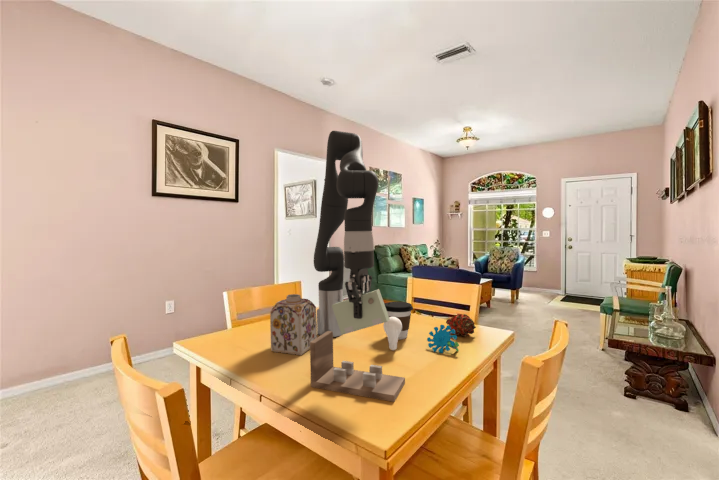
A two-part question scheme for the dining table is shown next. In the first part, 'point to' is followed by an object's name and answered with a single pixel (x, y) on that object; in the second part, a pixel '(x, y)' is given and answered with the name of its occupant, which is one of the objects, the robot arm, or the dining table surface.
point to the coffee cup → (400, 315)
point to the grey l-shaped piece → (349, 374)
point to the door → (371, 312)
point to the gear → (443, 339)
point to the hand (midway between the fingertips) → (360, 316)
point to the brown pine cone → (461, 324)
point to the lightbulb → (393, 331)
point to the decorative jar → (293, 325)
